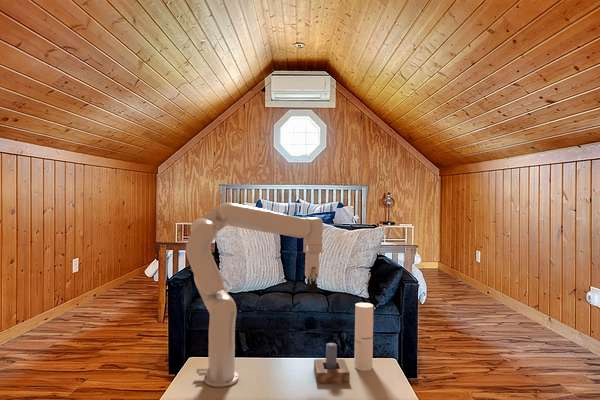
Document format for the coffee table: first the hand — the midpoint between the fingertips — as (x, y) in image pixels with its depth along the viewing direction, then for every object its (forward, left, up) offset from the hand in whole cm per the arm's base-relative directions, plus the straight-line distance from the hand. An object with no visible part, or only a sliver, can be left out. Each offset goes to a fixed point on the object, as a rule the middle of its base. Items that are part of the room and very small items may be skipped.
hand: (312, 291), depth 168 cm
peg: (+7, -10, -30) cm, 32 cm away
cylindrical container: (+21, -2, -30) cm, 37 cm away
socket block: (+7, -10, -30) cm, 32 cm away
